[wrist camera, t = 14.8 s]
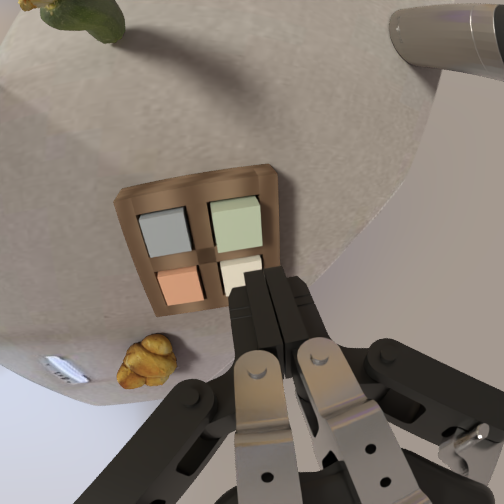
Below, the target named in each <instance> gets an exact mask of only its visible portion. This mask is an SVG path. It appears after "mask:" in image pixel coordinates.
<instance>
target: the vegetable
mask: <svg viewBox="0 0 504 504" xmlns="http://www.w3.org/2000/svg"><path fill="white" fill-rule="evenodd" d="M18 3H19V4H20V7H21V8H22V10H24V11H30V10H32V9H33V8H35V9H36V8H40V16H41V19H42V20H43V21H44V22H45V23H46V24H48V25H49V26H51V27H53V28H56V29H59V30H69V31H82V30H87V32H88V33H89V34H91V35H92V36H93V37H94V38H96V39H97V40H98V41H100V42H102V43H104V44H106V43H116V42H117V40H120V39H121V38H122V36H123V34H124V32H125V19H124V16H123V13H122V11H121V9H120V8H119V6H118V4H117V3H116V1H115V0H19V2H18Z"/></svg>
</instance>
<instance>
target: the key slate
mask: <svg viewBox="0 0 504 504" xmlns="http://www.w3.org/2000/svg"><path fill="white" fill-rule="evenodd" d="M139 223H140V226H141V229H142V233H143V236H144V239H145V242H146V245H147V249H148V252H149V255H150V258H152V257H158V256H164V255H169V254H175V253H181V252H187V251H192V237H191V232H190V228H189V223H188V218H187V213H186V208H185V206H181V207H175V208H170V209H164V210H159V211H154V212H149V213H144V214H141V216H140V218H139Z"/></svg>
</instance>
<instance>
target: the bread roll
mask: <svg viewBox="0 0 504 504" xmlns="http://www.w3.org/2000/svg"><path fill="white" fill-rule="evenodd" d="M172 350H173V349H172V346H171V343H170V341H169V340H168V339H167V338H166V337H165V336H164V335H161V334H152V335H148V336H146V337H145V339H143V340H142V342H138V343H134V344H133V345H132V346H130V347H129V349H128V350H127V353H126V356H125V358H124V360H123V363H122V365H121V367H120V369H119V370H118V373H117V380H118V383H119V384H120V385H121V386H122V387H123V388H124V389H134V388H138V387H142V386H143V385H144V384H146V385H147V386H148V385H149V386H158V385H163V384H164V383H165V382H166V381H167V379H168V378H169V375H170V374H172V373H173V372H174V370H175V368H177V363H176V361H177V360H176V357H175V355H174V353H173V352H172Z"/></svg>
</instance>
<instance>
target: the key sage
mask: <svg viewBox="0 0 504 504" xmlns="http://www.w3.org/2000/svg"><path fill="white" fill-rule="evenodd" d="M210 205H211V212H212V219H213V225H214V231H215V237H216V243H217V249H218V253H222V252H228V251H234V250H240V249H246V248H252V247H259V246H263V245H262V229H261V213H260V204H259V203H258V201H257V199H256V197H255V195H250V196H243V197H236V198H229V199H222V200H216V201H210Z"/></svg>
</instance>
